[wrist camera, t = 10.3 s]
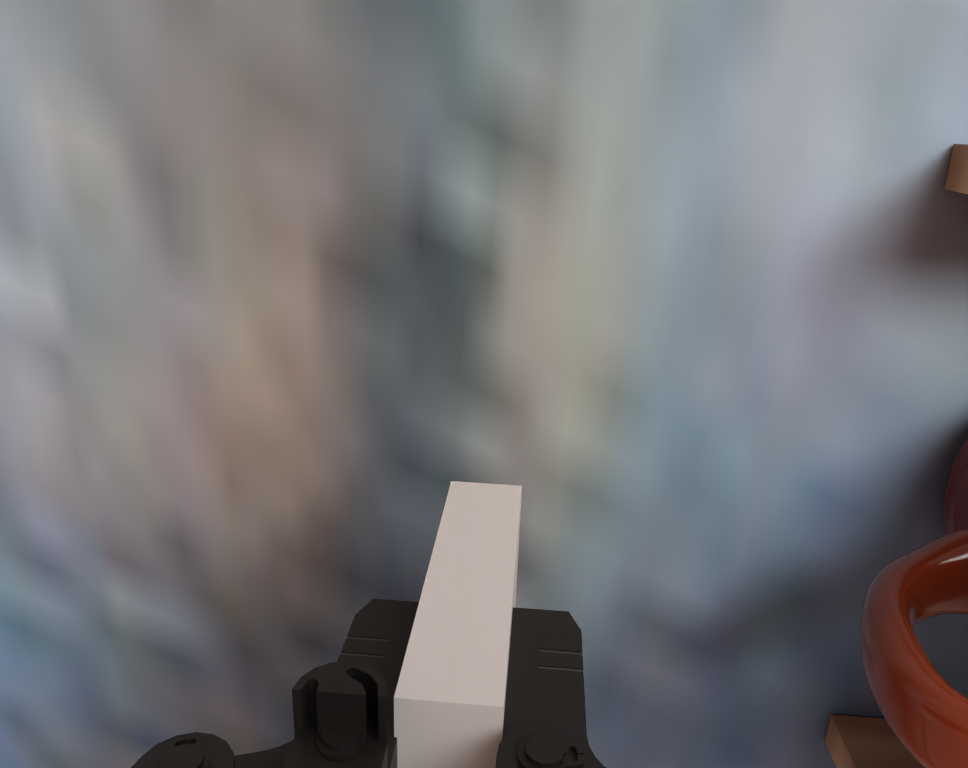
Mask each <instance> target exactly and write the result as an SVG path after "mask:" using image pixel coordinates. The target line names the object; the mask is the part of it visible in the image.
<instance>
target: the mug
mask: <svg viewBox="0 0 968 768" xmlns="http://www.w3.org/2000/svg"><path fill="white" fill-rule="evenodd" d="M944 509H945V523H946V531H947V535H944V536H942V537H940V538H938V539H936V540H934V541H932V542H930V543H928V544H926V545H924V546H922V547H920V548H918V549H916V550H913V551H911V552H909V553H907V554H905V555H903V556H901V557H899V558H897V559H896V560H894V561H892V562H891V563H889V564H888V565H887V566H885V567H884V568H883V569H881V570H880V571H879V573H878V574H877V575H876V576H875V577H874V579H873V581H872V582H871V584H870V586H869V588H868V591H867V593H866V596H865V600H864V605H863V610H862V619H861V638H860V639H861V653H862V660H863V664H864V668H865V672H866V676H867V679H868V682H869V685H870V688H871V691H872V693H873V695H874V697H875V700H876V702H877V704H878V706H879V708H880V710H881V712H882V714H883V715H884V717H885V719H886V721H887V722H888V724H889V726H890V727H891V728H892V730H893V731H894V733H895V734H896V735H897V737H898V738H899V740H900V741H901V742H902V744H903V745H904V747H905V748H906V749H907V750H908V751H909V752H910V753H911V754H912V755H913V756H914V757H915V758H916V759H917V760H918V761H919V763H920V764H922V765H923V766H924V767H926V768H968V698H966V697H965V696H963V695H962V694H960V693H959V692H958V691H956V690H955V689H953V688H952V687H951V686H950V685H949V684H948V683H947V682H946V681H945V680H944V679H943V678H942V677H941V676H940V675H939V674H938V672H937V671H936V670H935V668H934V667H933V665H932V664H931V662H930V661H929V659H928V657H927V656H926V654H925V652H924V650H923V649H922V647H921V645H920V643H919V641H918V639H917V637H916V635H915V632H914V630H913V628H912V627H913V626H914V625H915V624H917V623H918V622H920V621H923V620H925V619H927V618H930V617H934V616H937V615H943V614H955V613H958V614H968V439H967V441H966V442H965V443H964V445H963V446H962V448H961V449H960V451H959V452H958V455H957V457H956V459H955V461H954V464H953V467H952V470H951V473H950V476H949V480H948V484H947V488H946V494H945V507H944Z"/></svg>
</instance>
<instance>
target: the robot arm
mask: <svg viewBox="0 0 968 768" xmlns="http://www.w3.org/2000/svg"><path fill="white" fill-rule="evenodd" d="M521 492H522V486H517V485H502V484H486V483H471V482H456V481H451V484H450V488H449V492H448V495H447V499H446V503H445V507H444V510H443V514H442V518H441V522H440V526H439V529H438V533H437V537H436V541H435V544H434V548H433V552H432V556H431V559H430V563H429V567H428V571H427V574H426V578H425V582H424V586H423V590H422V593H421V597H420V601H419V602H408V601H394V600H381V599H372V600H371V601H370V602H369V603H368V604H367V605H366V606H365V607H364V608H363V609H361V610H360V611H359V612H358V613H357V614H356V615H355V617H354V620H353V622H352V625H351V627H350V630H349V633H348V637H347V639H346V640H345V643H344V646H343V648H342V651H341V655H340V656H339V659H338V661H337V662H332V663H329V664H326V665H323V666H319V667H316V668H314V669H313V670H311V671H310V672H308V673H307V674H305V675H304V676H302V677H301V678H300V679H299V681H298V682H297V683H296V685H295V686H294V687H293V689H292V696H293V713H294V729H295V738H294V740H293V741H291V742H289V743H286V744H284V745H282V746H280V747H277V748H273V749H269V750H266V751H261V752H255V753H249V754H244V755H238V756H234V753H233V751H232V750H231V748H230V746H229V745H228V743H227V742H226V741H224V740H223V739H221V738H219V737H217V736H215V735H213V734H205V733H197V732H195V733H189V734H183V735H177V736H175V737H172V738H170V739H168V740H165V741H163V742H161V743H158V744H157V745H156V746H154V747H153V748H152V749H151V750H149V751H148V752H147V753H145V754H144V755H143V756H142V757H141V758H140V759H139V760H138V761H137V762H136V763H135V764H134V765H133V766H132V767H131V768H606V767H604V766H603V765H602V764H601V763H600V762H599V760H598V759H597V758H596V757H595V756H594V754H593V752H592V750H591V749H590V747H589V744H588V740H587V735H586V716H585V696H584V676H583V657H582V637H581V630H580V628H579V627H578V625H577V624H576V622H575V621H574V619H573V618H572V616H571V615H570V613H569V612H566V611H553V610H539V609H526V608H515V603H516V586H517V568H518V549H519V530H520V511H521Z"/></svg>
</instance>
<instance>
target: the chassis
mask: <svg viewBox="0 0 968 768" xmlns="http://www.w3.org/2000/svg"><path fill="white" fill-rule="evenodd" d="M944 189H945V190H950V191H954V192H959V193H964V194H968V145H965V144H954V146H953V151H952V155H951V160H950V164H949V169H948V174H947V178H946V183H945V188H944ZM825 743H826V746H827V748H828V750H829V752H830V755H831V757H832V759H833V761H834V764H835V766H836V768H926V767H924V766H923V765H922V764H920V763H919V761H918V760H917V759H916V758H915V757H914V756H913V755H912V754H911V753H910V752H909V751H908V750H907V749H906V748H905V747H904V745H903V744H902V742H901V741H900V740H899V738H898V737H897V735H896V734H895V733H894V731H893V730H892V728H891V727H890V726H889V724H888V722H887V721H886V719H885V718H873V717H859V716H845V715H830V720H829V724H828V729H827V734H826V738H825Z"/></svg>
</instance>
